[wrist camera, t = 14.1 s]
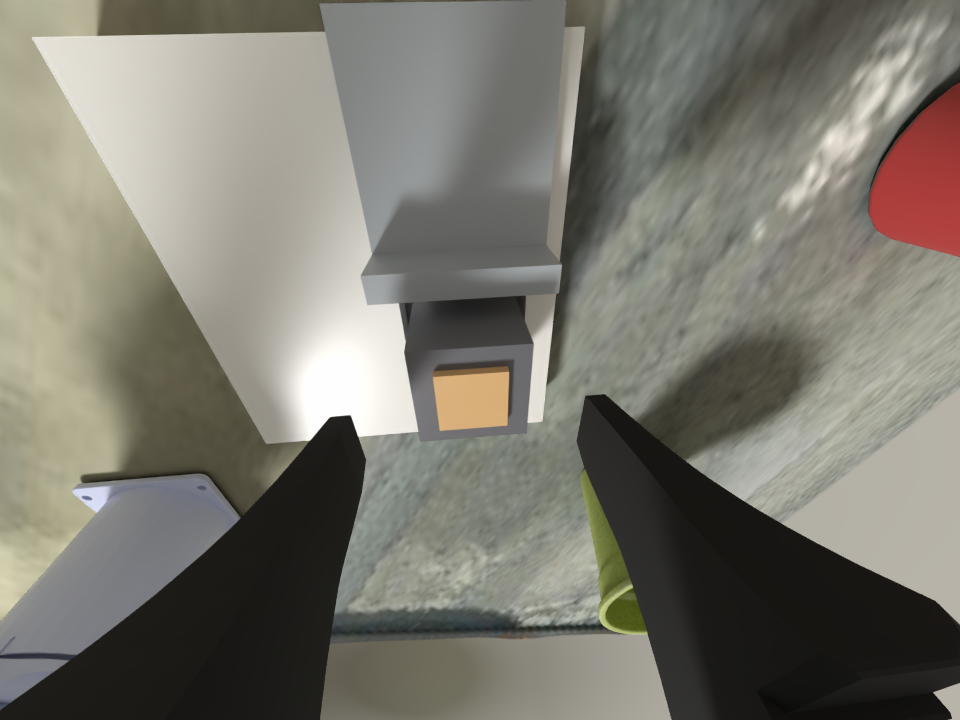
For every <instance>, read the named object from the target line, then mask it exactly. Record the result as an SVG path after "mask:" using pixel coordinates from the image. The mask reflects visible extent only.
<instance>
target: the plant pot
mask: <svg viewBox="0 0 960 720" xmlns="http://www.w3.org/2000/svg"><path fill="white" fill-rule="evenodd" d="M580 481H581V487H582V492H583V497H584V501H585V506H586V510H587V514H588V519H589V524H590V528H591V533H592V538H593V543H594V548H595V553H596V558H597V563H598V569H599V574H600V575H599V579H598V585H599V591H600V596H601V602H600V604H599V606H598V615H599V618H600V621H601V623H602V624H603V625H604V626H605V627H606V628H608V629H610V630H613V631H615V632H620V633H625V634H648V633H647V630H646V627H645V623H644V620H643V617H642V614H641V611H640V608H639V605H638V601H637V598H636V595H635V592H634V589H633V586H632V583H631V580H630V577H629V574H628V571H627V568H626V565H625V562H624V559H623V556H622V554H621V551H620V549H619V546H618V544H617V541H616V539H615V536H614V534H613V532H612V530H611V527H610V525H609V523H608V521H607V518H606V516H605V514H604V512H603V509H602V507H601V505H600V503H599V500H598V498H597V496H596V494H595V491H594V489H593V487H592V484H591V482H590V480H589V478H588V475H587V473H586V470H585V469H584V470H583V472H582V475H581V480H580Z"/></svg>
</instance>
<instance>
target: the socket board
mask: <svg viewBox="0 0 960 720" xmlns="http://www.w3.org/2000/svg"><path fill="white" fill-rule="evenodd" d="M584 34H585V27H565V29H564V40H563V52H562V64H561V76H560V88H559V100H558V112H557V124H556V136H555V148H554V160H553V172H552V184H551V195H550V207H549V219H548V231H547V243H546V245H547V247H548V248H549V249H550V250H551V251H552V253H553V254H554V255H555V256H556V258H557V259H558V260H559V261H560V254H561V245H562V236H563V227H564V218H565V208H566V199H567V190H568V181H569V172H570V163H571V154H572V144H573V135H574V126H575V117H576V108H577V99H578V89H579V80H580V71H581V62H582V53H583V44H584ZM32 39H33V41H34V42H35V44H36V46H37V47H38V49H39V51H40V53H41V54H42V56H43V58H44V60H45V61H46V63H47V65H48V67H49V68H50V70H51V72H52V73H53V75H54V77H55V79H56V80H57V82H58V84H59V86H60V87H61V89H62V91H63V93H64V94H65V96H66V98H67V99H68V101H69V103H70V105H71V106H72V108H73V110H74V112H75V113H76V115H77V117H78V119H79V120H80V122H81V124H82V125H83V127H84V129H85V131H86V132H87V134H88V136H89V138H90V139H91V141H92V143H93V145H94V146H95V148H96V150H97V151H98V153H99V155H100V157H101V158H102V160H103V162H104V164H105V165H106V167H107V169H108V171H109V172H110V174H111V176H112V178H113V179H114V181H115V183H116V184H117V186H118V188H119V190H120V191H121V193H122V195H123V197H124V198H125V200H126V202H127V204H128V205H129V207H130V209H131V210H132V212H133V214H134V216H135V217H136V219H137V221H138V223H139V224H140V226H141V228H142V230H143V231H144V233H145V235H146V236H147V238H148V240H149V242H150V243H151V245H152V247H153V249H154V250H155V252H156V254H157V256H158V257H159V259H160V261H161V262H162V264H163V266H164V268H165V269H166V271H167V273H168V275H169V276H170V278H171V280H172V282H173V283H174V285H175V287H176V288H177V290H178V292H179V294H180V295H181V297H182V299H183V301H184V302H185V304H186V306H187V308H188V309H189V311H190V313H191V314H192V316H193V318H194V320H195V321H196V323H197V325H198V327H199V328H200V330H201V332H202V334H203V335H204V337H205V339H206V341H207V342H208V344H209V346H210V347H211V349H212V351H213V353H214V354H215V356H216V358H217V360H218V361H219V363H220V365H221V367H222V368H223V370H224V372H225V373H226V375H227V377H228V379H229V380H230V382H231V384H232V386H233V387H234V389H235V391H236V393H237V394H238V396H239V398H240V399H241V401H242V403H243V405H244V406H245V408H246V410H247V412H248V413H249V415H250V417H251V419H252V420H253V422H254V424H255V425H256V427H257V429H258V431H259V432H260V434H261V436H262V438H263V439H264V441H265V443H266V444H273V443H285V442H298V441H310V440H311V439H312V438H313V437H314V435H315V434H316V433H317V432H318V430H319V429H320V428H321V427H322V426H323V424H324V423H325V422H326V421H327V420H328V419H329V418H330V417H333V416H345V415H351V417H352V420H353V423H354V426H355V429H356V432H357V435H358V437H359V436H371V435H384V434H396V433H408V432H418V427H417V421H416V416H415V410H414V405H413V399H412V394H411V388H410V383H409V377H408V372H407V366H406V361H405V355H404V349H405V344H406V338H407V332H408V327H409V321H410V315H411V310H412V304H413V302H411V303H395V304H379V305H367V302H366V297H365V293H364V289H363V285H362V281H361V277H360V276H361V274H362V272H363V270H364V268H365V267H366V265H367V263H368V261H369V259H370V257H371V256H372V252H371V247H370V242H369V237H368V233H367V228H366V223H365V218H364V214H363V209H362V204H361V199H360V195H359V190H358V185H357V180H356V176H355V171H354V166H353V162H352V157H351V152H350V147H349V143H348V138H347V133H346V128H345V124H344V119H343V114H342V109H341V105H340V100H339V95H338V90H337V86H336V81H335V76H334V71H333V67H332V62H331V57H330V52H329V48H328V43H327V38H326V33H325V32H278V33H226V34H174V35H122V36H70V37H32ZM515 298H516V300H517V303H518V305H519V308H520V310H521V313H522V315H523V318H524V320H525V323H526V325H527V328H528V330H529V333H530V335H531V338H532V340H533V343H534V349H533V361H532V373H531V386H530V398H529V410H528V422H527V423H531V422H542V419H543V410H544V401H545V392H546V382H547V373H548V364H549V355H550V346H551V337H552V327H553V318H554V309H555V300H556V294H542V295H525V296H515Z"/></svg>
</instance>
